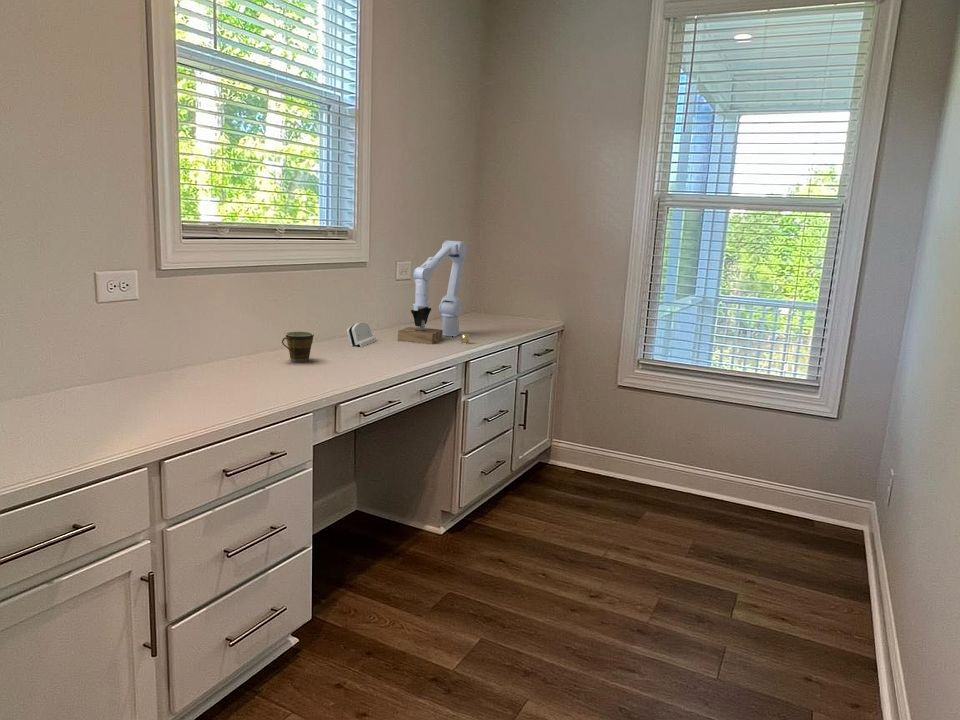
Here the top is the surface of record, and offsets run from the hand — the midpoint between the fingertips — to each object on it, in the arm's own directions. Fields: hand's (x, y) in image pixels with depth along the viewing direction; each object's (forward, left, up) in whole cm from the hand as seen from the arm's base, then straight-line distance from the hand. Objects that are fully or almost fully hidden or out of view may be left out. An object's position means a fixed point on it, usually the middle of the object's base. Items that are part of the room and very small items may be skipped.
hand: (420, 324), depth 308 cm
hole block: (0, 0, -7) cm, 7 cm away
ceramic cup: (+65, -24, -7) cm, 70 cm away
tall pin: (0, 0, -7) cm, 7 cm away
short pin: (-3, +20, -7) cm, 21 cm away
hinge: (+21, -19, -7) cm, 29 cm away
